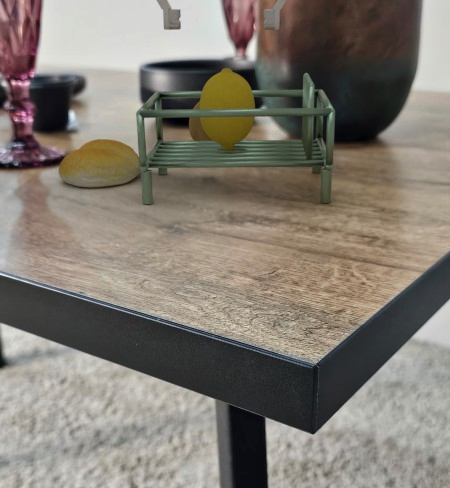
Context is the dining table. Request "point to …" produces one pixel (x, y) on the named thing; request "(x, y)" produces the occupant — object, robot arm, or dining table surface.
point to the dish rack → (243, 151)
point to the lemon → (227, 97)
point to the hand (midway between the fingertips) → (221, 29)
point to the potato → (197, 128)
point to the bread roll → (100, 164)
